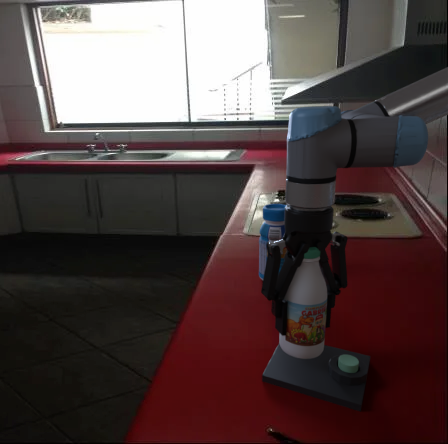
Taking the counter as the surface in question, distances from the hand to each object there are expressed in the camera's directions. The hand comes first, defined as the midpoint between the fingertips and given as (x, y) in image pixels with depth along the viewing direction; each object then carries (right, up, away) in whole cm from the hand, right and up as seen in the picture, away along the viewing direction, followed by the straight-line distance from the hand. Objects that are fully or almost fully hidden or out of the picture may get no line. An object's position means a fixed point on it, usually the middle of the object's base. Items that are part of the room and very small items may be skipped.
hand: (302, 327), depth 75 cm
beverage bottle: (+6, +4, +39) cm, 39 cm away
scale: (+3, -8, +1) cm, 9 cm away
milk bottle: (0, -4, +1) cm, 4 cm away
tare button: (+7, -6, -2) cm, 10 cm away
